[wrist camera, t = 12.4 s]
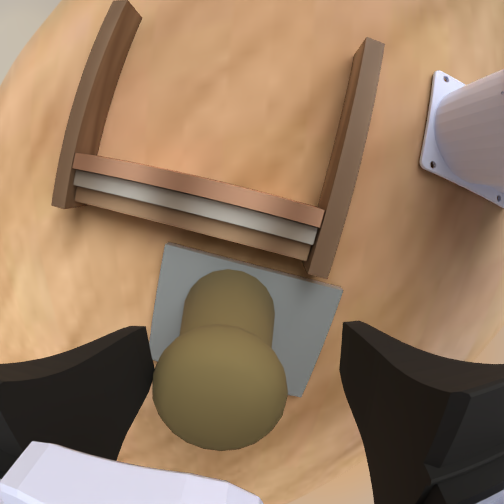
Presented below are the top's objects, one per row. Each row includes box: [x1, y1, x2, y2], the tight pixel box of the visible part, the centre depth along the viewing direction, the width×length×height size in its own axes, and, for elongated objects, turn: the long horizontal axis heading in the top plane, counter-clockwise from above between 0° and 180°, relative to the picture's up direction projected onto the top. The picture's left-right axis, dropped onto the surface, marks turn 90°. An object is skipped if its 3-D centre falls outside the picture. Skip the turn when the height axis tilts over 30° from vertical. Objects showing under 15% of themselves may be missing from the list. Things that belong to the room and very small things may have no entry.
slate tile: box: [149, 242, 343, 397], centre depth 21 cm, size 12×9×1 cm
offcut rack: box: [51, 0, 385, 279], centre depth 17 cm, size 18×15×3 cm
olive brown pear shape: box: [153, 269, 288, 451], centre depth 15 cm, size 6×6×11 cm
